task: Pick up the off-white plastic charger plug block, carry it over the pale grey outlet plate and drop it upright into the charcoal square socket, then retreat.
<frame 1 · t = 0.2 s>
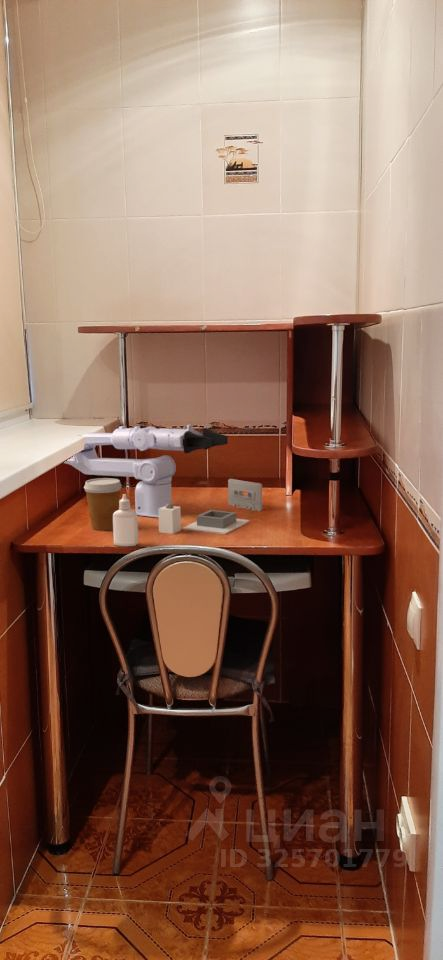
hand: (219, 441, 197), 21 cm above the table, tool horizontal, fingers open, 7 cm apart
charger plug block: (169, 531, 193), on the table
eye dropper bottle: (126, 545, 181), on the table
cassette: (244, 508, 217), on the table
socket dock: (216, 525, 198), on the table
disposable coffee cup: (104, 528, 197), on the table
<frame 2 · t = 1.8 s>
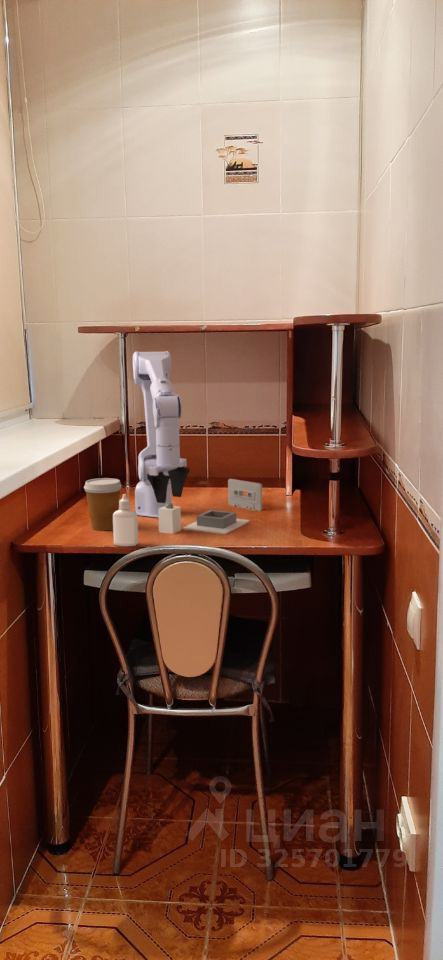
hand: (169, 499, 191), 8 cm above the table, tool pointing down, fingers open, 7 cm apart
nothing on the table moved.
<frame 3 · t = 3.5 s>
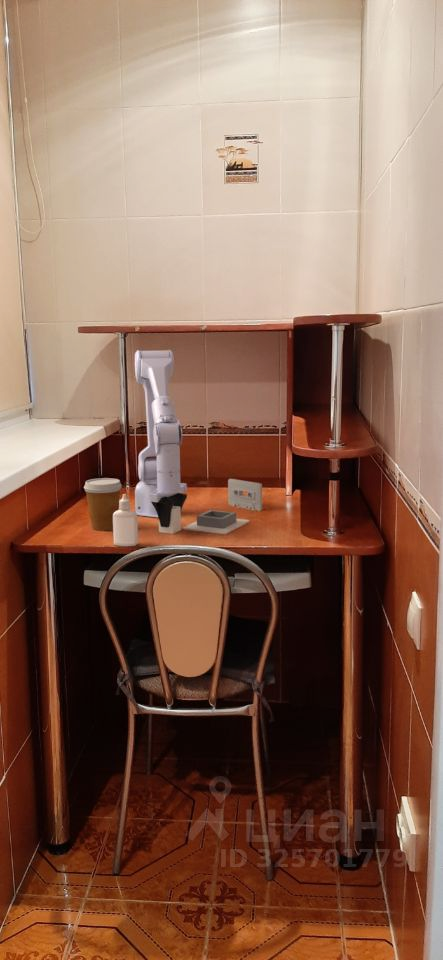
hand: (169, 524, 192), 2 cm above the table, tool pointing down, fingers closed on charger plug block, 4 cm apart
charger plug block: (169, 531, 193), on the table, touching gripper
everything else where it was.
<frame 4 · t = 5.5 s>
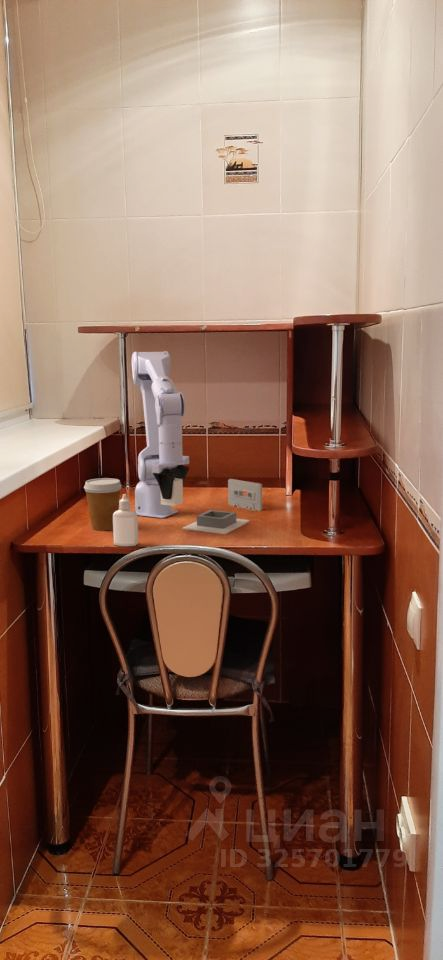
hand: (171, 497, 191), 9 cm above the table, tool pointing down, fingers closed on charger plug block, 4 cm apart
charger plug block: (171, 503, 192), point 7 cm above the table, touching gripper
everything else where it was.
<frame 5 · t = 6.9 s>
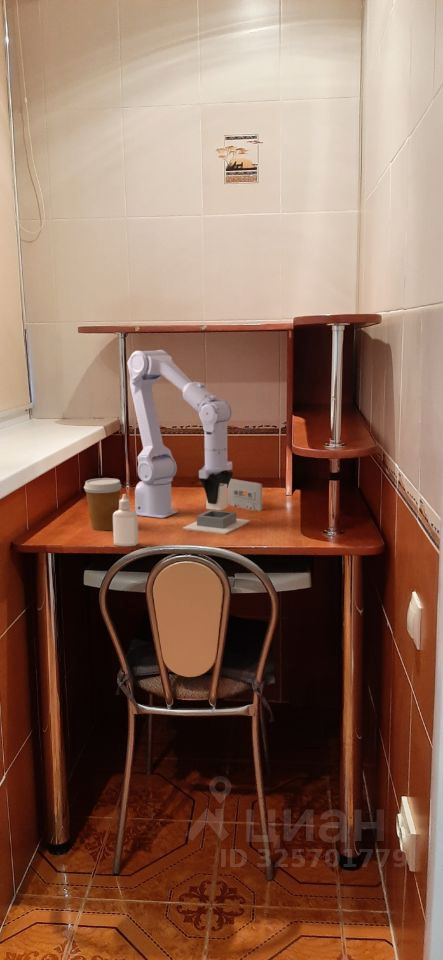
hand: (216, 501, 196), 6 cm above the table, tool pointing down, fingers closed on charger plug block, 4 cm apart
charger plug block: (216, 507, 197), point 5 cm above the table, touching gripper
everything else where it was.
when the fingers open (4 cm above the table, at t = 7.9 s): charger plug block drops 1 cm, resting on socket dock.
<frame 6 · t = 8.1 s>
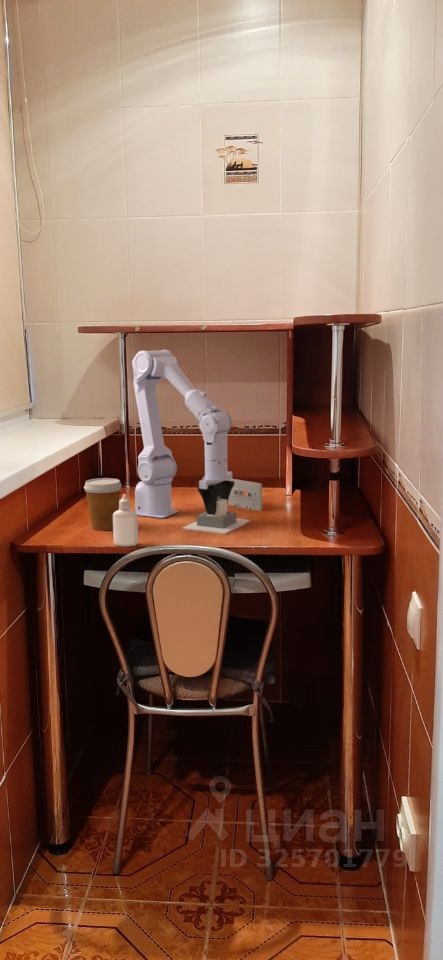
hand: (216, 511, 197), 4 cm above the table, tool pointing down, fingers open, 6 cm apart
charger plug block: (216, 523, 198), resting on socket dock
everything else where it was.
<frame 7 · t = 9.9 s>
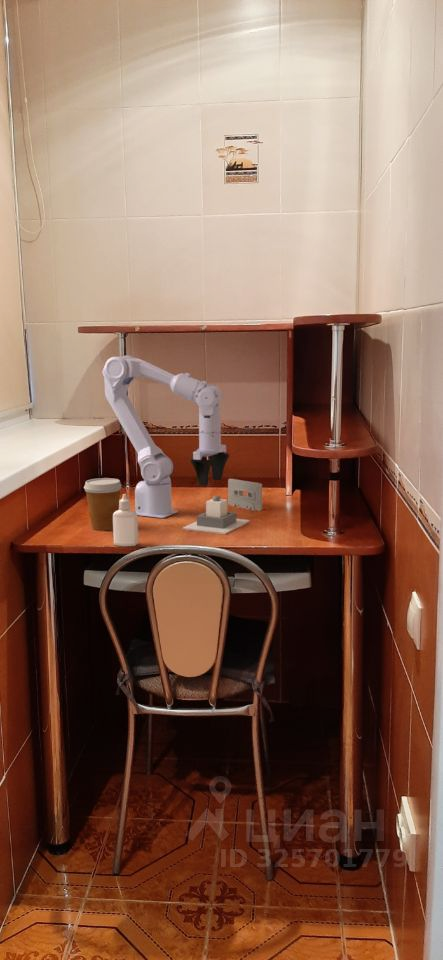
hand: (210, 482, 205), 9 cm above the table, tool pointing down, fingers open, 7 cm apart
nothing on the table moved.
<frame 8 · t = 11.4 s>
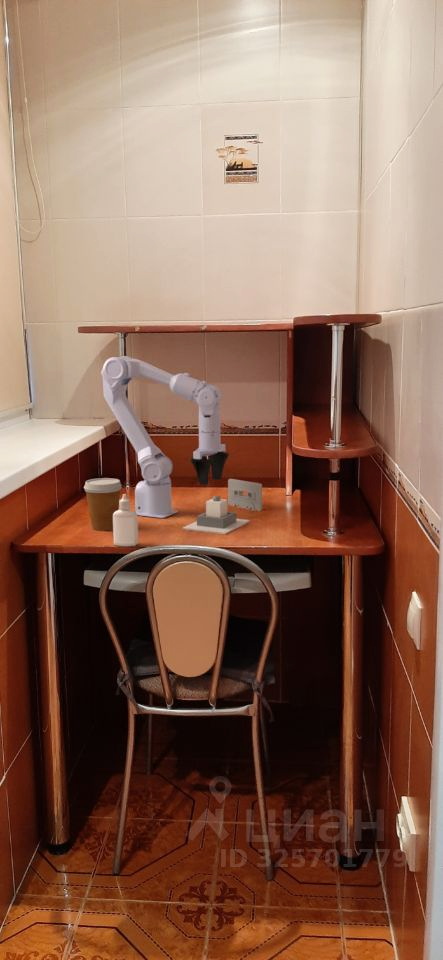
hand: (210, 481, 206), 9 cm above the table, tool pointing down, fingers open, 7 cm apart
nothing on the table moved.
at the end: charger plug block 0.0 cm off-centre on the socket dock, point 0.5 cm above the socket dock's base; charger plug block tilted 0°; the gripper is holding nothing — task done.
